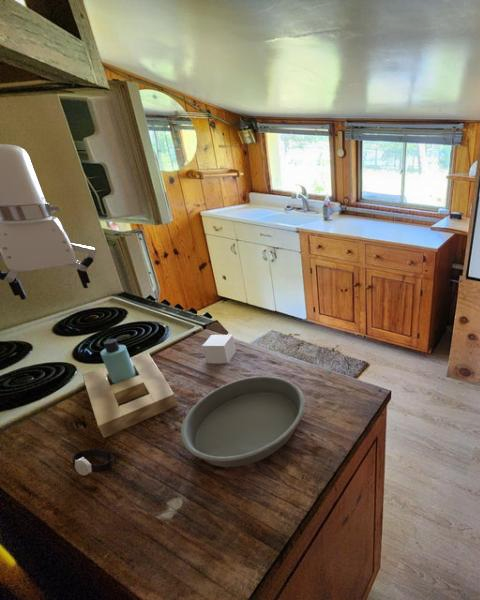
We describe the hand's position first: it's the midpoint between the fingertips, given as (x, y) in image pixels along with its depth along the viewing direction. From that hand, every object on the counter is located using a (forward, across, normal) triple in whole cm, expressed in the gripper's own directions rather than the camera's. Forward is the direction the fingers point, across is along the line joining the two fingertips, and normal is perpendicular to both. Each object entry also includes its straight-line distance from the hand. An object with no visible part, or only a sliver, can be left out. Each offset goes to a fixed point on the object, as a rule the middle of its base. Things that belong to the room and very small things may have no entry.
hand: (56, 291), depth 71 cm
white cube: (+26, -27, +8) cm, 39 cm away
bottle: (+26, -6, +4) cm, 27 cm away
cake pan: (+26, -22, +39) cm, 52 cm away
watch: (+27, +3, +28) cm, 39 cm away
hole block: (+26, -6, +9) cm, 28 cm away
